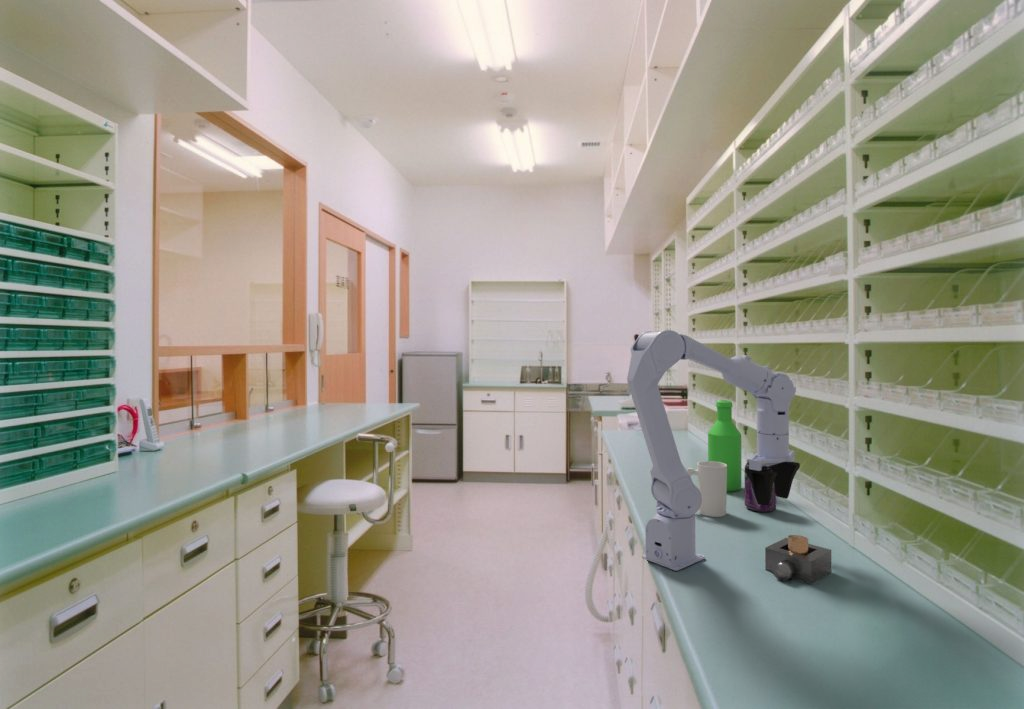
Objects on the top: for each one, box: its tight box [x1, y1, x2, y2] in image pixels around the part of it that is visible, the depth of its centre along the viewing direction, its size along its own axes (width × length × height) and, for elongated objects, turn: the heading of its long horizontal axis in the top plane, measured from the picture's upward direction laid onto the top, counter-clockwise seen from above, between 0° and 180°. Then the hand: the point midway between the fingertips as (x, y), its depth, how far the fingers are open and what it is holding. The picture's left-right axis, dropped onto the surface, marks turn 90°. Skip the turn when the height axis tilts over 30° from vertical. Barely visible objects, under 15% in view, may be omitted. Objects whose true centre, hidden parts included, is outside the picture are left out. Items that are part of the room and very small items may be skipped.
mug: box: [687, 460, 728, 518], centre depth 131 cm, size 10×7×12 cm, turn 78°
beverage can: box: [744, 458, 777, 513], centre depth 133 cm, size 7×7×12 cm
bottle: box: [707, 399, 742, 493], centre depth 152 cm, size 9×9×25 cm
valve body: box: [764, 537, 832, 585], centre depth 97 cm, size 13×8×4 cm, turn 128°
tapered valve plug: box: [787, 534, 809, 556], centre depth 97 cm, size 3×3×6 cm
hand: (772, 500), depth 106 cm, fingers open, 7 cm apart
